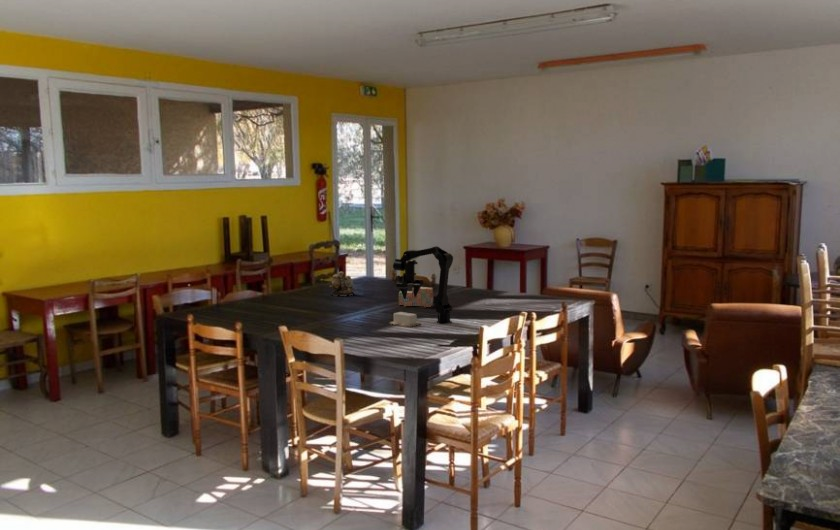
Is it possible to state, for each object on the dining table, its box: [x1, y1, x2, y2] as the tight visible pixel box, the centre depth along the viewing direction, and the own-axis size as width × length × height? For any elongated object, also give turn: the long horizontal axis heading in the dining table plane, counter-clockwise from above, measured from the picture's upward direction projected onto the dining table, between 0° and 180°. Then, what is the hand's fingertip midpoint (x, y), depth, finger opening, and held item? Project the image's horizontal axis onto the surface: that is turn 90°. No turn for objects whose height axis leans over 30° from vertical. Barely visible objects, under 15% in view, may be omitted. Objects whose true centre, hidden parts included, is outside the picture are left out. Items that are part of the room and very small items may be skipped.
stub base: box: [388, 320, 422, 328], centre depth 402 cm, size 15×10×4 cm, turn 50°
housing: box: [393, 311, 418, 325], centre depth 401 cm, size 12×6×5 cm, turn 50°
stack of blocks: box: [398, 286, 434, 308], centre depth 457 cm, size 21×6×12 cm, turn 75°
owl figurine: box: [329, 271, 356, 296], centre depth 500 cm, size 18×12×17 cm, turn 105°
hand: (409, 297), depth 419 cm, fingers open, 9 cm apart
